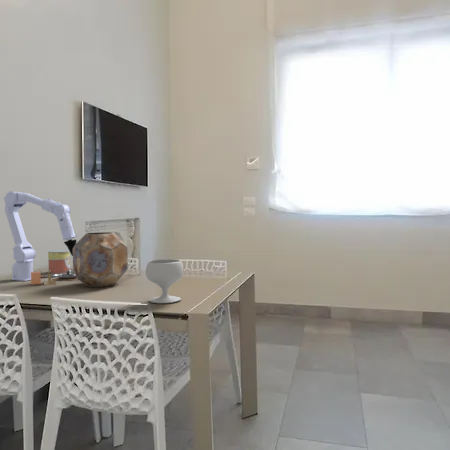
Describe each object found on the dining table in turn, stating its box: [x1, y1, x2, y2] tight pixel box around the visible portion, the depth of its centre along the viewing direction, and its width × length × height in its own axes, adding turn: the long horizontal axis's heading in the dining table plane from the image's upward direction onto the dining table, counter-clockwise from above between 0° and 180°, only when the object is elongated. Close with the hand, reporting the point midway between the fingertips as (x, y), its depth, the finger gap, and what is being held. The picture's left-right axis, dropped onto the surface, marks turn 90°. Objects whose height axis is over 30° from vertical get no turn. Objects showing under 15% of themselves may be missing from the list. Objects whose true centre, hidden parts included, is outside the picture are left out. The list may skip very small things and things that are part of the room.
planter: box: [72, 231, 129, 288], centre depth 198 cm, size 22×24×24 cm
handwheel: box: [57, 268, 76, 279], centre depth 217 cm, size 10×10×4 cm
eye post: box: [43, 268, 56, 286], centre depth 204 cm, size 5×10×6 cm, turn 22°
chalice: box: [145, 258, 184, 304], centre depth 162 cm, size 14×14×15 cm
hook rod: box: [30, 271, 62, 285], centre depth 204 cm, size 13×4×6 cm, turn 112°
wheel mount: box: [51, 277, 78, 282], centre depth 217 cm, size 11×11×1 cm
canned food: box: [47, 249, 71, 275], centre depth 240 cm, size 11×11×12 cm
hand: (74, 255), depth 211 cm, fingers open, 7 cm apart
